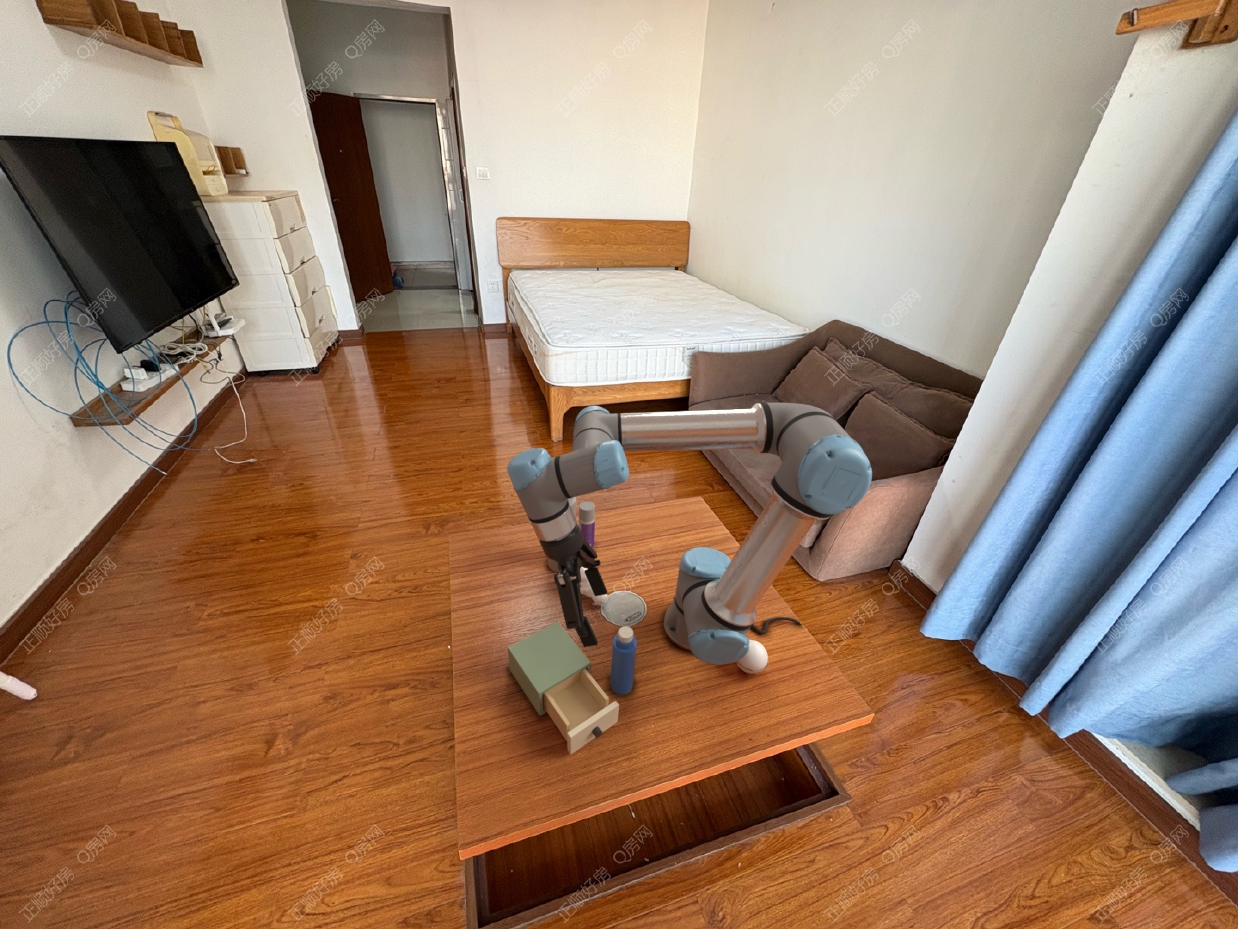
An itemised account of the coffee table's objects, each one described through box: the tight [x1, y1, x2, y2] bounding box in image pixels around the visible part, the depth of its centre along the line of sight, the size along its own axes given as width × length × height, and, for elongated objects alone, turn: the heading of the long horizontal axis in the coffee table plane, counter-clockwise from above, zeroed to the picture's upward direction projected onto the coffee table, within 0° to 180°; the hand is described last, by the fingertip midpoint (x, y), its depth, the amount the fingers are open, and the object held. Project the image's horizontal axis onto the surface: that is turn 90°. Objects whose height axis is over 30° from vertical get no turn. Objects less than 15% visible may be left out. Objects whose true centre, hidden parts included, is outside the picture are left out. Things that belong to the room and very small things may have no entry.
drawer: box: [542, 669, 620, 755], centre depth 102 cm, size 14×11×6 cm
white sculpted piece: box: [571, 567, 609, 607], centre depth 131 cm, size 6×8×12 cm
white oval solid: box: [736, 639, 773, 675], centre depth 114 cm, size 10×7×7 cm
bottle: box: [609, 626, 638, 696], centre depth 107 cm, size 5×5×17 cm
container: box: [578, 500, 596, 549], centre depth 146 cm, size 5×5×15 cm
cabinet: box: [507, 621, 592, 717], centre depth 110 cm, size 14×13×8 cm
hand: (596, 618), depth 99 cm, fingers open, 13 cm apart
